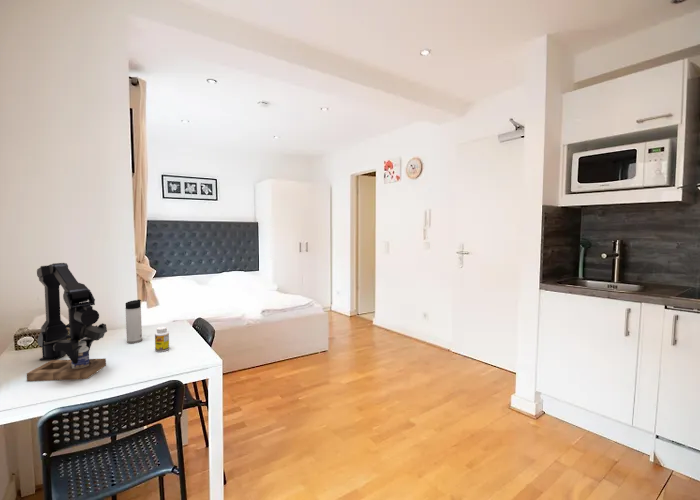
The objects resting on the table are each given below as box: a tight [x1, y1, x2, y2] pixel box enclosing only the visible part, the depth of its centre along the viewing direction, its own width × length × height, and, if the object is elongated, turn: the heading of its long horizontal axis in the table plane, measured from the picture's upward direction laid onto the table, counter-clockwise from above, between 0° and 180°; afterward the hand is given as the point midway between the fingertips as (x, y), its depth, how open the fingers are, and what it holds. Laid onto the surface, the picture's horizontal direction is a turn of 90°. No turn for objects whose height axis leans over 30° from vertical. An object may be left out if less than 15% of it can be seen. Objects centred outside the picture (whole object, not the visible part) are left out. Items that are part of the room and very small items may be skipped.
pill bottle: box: [71, 341, 90, 369], centre depth 131 cm, size 5×5×10 cm
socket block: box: [26, 358, 107, 382], centre depth 131 cm, size 20×12×3 cm, turn 96°
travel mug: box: [124, 299, 143, 344], centre depth 166 cm, size 6×7×20 cm
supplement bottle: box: [154, 326, 170, 353], centre depth 155 cm, size 6×6×10 cm
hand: (80, 360), depth 131 cm, fingers closed on pill bottle, 5 cm apart
